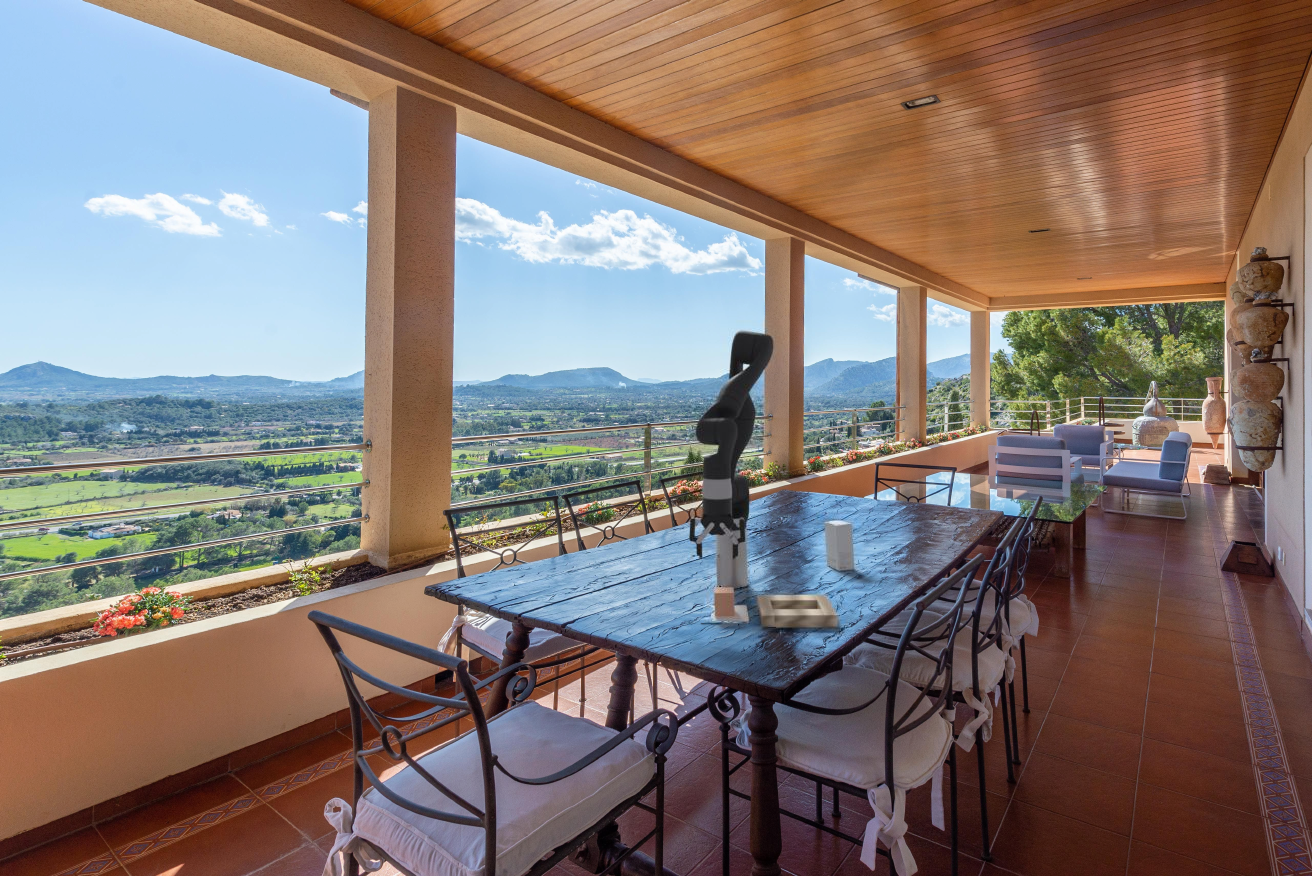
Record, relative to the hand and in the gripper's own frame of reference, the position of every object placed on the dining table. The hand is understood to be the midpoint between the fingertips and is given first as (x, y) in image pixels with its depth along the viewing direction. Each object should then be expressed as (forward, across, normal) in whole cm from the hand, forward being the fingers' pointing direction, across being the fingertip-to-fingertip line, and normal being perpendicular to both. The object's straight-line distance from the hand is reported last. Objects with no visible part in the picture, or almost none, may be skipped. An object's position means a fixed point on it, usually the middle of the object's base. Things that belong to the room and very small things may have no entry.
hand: (717, 557), depth 165 cm
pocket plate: (+15, +20, -1) cm, 25 cm away
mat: (+15, +2, 0) cm, 15 cm away
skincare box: (+15, +38, +46) cm, 62 cm away
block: (+14, +2, 0) cm, 15 cm away
